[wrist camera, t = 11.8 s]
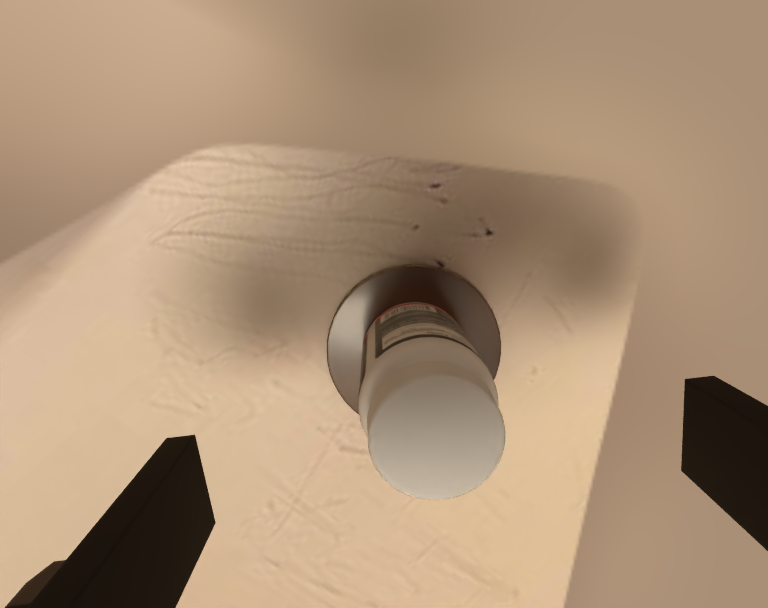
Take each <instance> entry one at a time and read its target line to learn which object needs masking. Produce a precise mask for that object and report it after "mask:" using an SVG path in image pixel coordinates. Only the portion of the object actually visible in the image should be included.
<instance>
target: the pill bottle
mask: <svg viewBox="0 0 768 608" xmlns="http://www.w3.org/2000/svg"><path fill="white" fill-rule="evenodd" d="M358 407H359V415H360V420H361V424H362V427H363V429H364V432H365V434H366V436H367V438H368V448H369V452H370V456H371V459H372V461H373V464H374V466H375V467H376V469H377V471H378V472H379V474H380V475H381V476H382V477H383V478H384V480H385V481H386V482H387V483H389V484H390V485H391V486H392V487H394V488H395V489H397V490H398V491H400V492H402V493H404V494H406V495H409V496H411V497H415V498H419V499H426V500H445V499H450V498H454V497H458V496H461V495H464V494H466V493H468V492H470V491H472V490H473V489H475V488H477V487H478V486H479V485H481V484H482V483H483V482H484V481H485V480H486V479H487V478H488V477H489V476H490V475H491V474H492V472H493V471H494V470H495V468H496V467H497V465H498V463H499V461H500V459H501V456H502V453H503V450H504V445H505V426H504V421H503V417H502V415H501V412H500V410H499V408H498V394H497V389H496V386H495V383H494V380H493V378H492V376H491V373H490V372H489V370H488V367H487V366H486V365H485V363H484V362H483V360H482V359H481V358H480V356H479V354H478V353H477V352H476V350H475V349H474V347H473V346H472V344H471V343H470V341H469V340H468V338H467V337H466V335H465V334H464V332H463V330H462V329H461V327H460V326H459V325H458V323H457V322H456V321H455V320H454V319H453V318H452V317H451V316H450V315H449V314H448V313H447V312H445V311H444V310H442V309H440V308H438V307H436V306H434V305H431V304H427V303H421V302H410V303H404V304H400V305H397V306H394V307H392V308H390V309H388V310H386V311H385V312H384V313H382V314H381V315H380V316H379V317H378V318H377V319H376V320H375V321H374V322H373V323H372V325H371V326H370V328H369V329H368V331H367V334H366V336H365V339H364V343H363V348H362V361H361V374H360V387H359V399H358Z"/></svg>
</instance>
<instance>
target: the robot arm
mask: <svg viewBox="0 0 768 608" xmlns="http://www.w3.org/2000/svg"><path fill="white" fill-rule="evenodd" d="M683 417H684V418H683V441H682V466H681V471H682V472H683V473H684V474H685V475H687V476H688V477H689V478H690V479H691V480H692V481H693V482H694V483H695V484H696V485H697V486H698V487H700V488H701V489H702V490H703V491H704V492H705V493H706V494H707V495H708V496H709V497H710V498H711V499H712V500H713V501H714V502H716V503H717V504H718V505H719V506H720V507H721V508H722V509H723V510H724V511H725V512H726V513H728V515H730V516H731V517H732V518H733V519H734V520H735V521H736V522H737V523H738V524H739V525H740V526H742V528H744V529H745V530H746V531H747V532H748V533H749V534H750V535H751V536H752V537H753V538H754V539H755V540H756V541H758V542H759V543H760V544H761V545H762V546H763V547H764V548H765V549H766V550H767V551H768V406H767V405H765V404H763V403H761V402H760V401H758V400H756V399H754V398H752V397H751V396H749V395H747V394H745V393H743V392H742V391H740V390H738V389H736V388H735V387H733V386H731V385H729V384H728V383H726V382H724V381H722V380H720V379H719V378H717V377H715V376H708V377H699V378H691V379H685V391H684V416H683ZM214 525H215V519H214V515H213V510H212V506H211V502H210V497H209V493H208V489H207V485H206V480H205V476H204V472H203V467H202V463H201V459H200V455H199V450H198V446H197V442H196V437H195V435H190V436H181V437H173V438H166V440H165V441H164V442H163V443H162V444H161V446H160V447H159V448H158V449H157V450H156V452H155V453H154V454H153V455H152V457H151V458H150V459H149V460H148V461H147V463H146V464H145V465H144V466H143V467H142V469H141V470H140V471H139V472H138V474H137V475H136V476H135V477H134V478H133V480H132V481H131V482H130V483H129V484H128V486H127V487H126V488H125V489H124V491H123V492H122V493H121V494H120V495H119V497H118V498H117V499H116V500H115V501H114V503H113V504H112V505H111V506H110V507H109V509H108V510H107V511H106V512H105V514H104V515H103V516H102V517H101V518H100V520H99V521H98V522H97V523H96V524H95V526H94V527H93V528H92V529H91V531H90V532H89V533H88V534H87V535H86V537H85V538H84V539H83V540H82V541H81V543H80V544H79V545H78V546H77V548H76V549H75V550H74V551H73V552H72V554H71V555H70V556H69V557H68V558H67V560H64V561H55V562H53V563H52V564H50V565H49V566H48V567H46V568H45V569H44V570H43V571H41V572H40V573H39V574H37V575H36V576H35V577H34V578H32V579H31V580H30V581H28V582H27V583H26V584H25V585H24V586H23V587H22V589H21V590H20V591H19V592H18V593H17V594H16V595H15V597H14V598H13V599H12V600H11V601H10V602H9V603H8V604H7V606H6V607H5V608H175V607H176V605H177V603H178V601H179V599H180V597H181V595H182V593H183V590H184V588H185V586H186V584H187V582H188V580H189V578H190V576H191V574H192V571H193V569H194V567H195V565H196V563H197V561H198V559H199V557H200V555H201V552H202V550H203V548H204V546H205V544H206V542H207V540H208V538H209V535H210V533H211V531H212V529H213V527H214Z"/></svg>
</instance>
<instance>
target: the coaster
mask: <svg viewBox="0 0 768 608" xmlns="http://www.w3.org/2000/svg"><path fill="white" fill-rule="evenodd" d="M410 302H421V303H427V304H431V305H434V306H436V307H438V308H440V309H442V310H444V311H445V312H447V313H448V314H449V315H450V316H451V317H452V318H453V319H454V320H455V321H456V322H457V323H458V325H459V326H460V327H461V329H462V330H463V332H464V334H465V335H466V337H467V338H468V340H469V341H470V343H471V344H472V346H473V347H474V349H475V350H476V352H477V353H478V354H479V356H480V358H481V359H482V360H483V362H484V363H485V365H486V366H487V367H488V370H489V372H490V373H491V376H492V378H493V380H494V378H495V376H496V373H497V370H498V366H499V362H500V355H501V340H500V332H499V328H498V325H497V321H496V319H495V316H494V314H493V312H492V310H491V308H490V307H489V305H488V303H487V302H486V300H485V299H484V298H483V297H482V295H481V294H480V293H479V292H478V291H477V290H476V289H475V288H474V287H473V286H471V285H470V284H469V283H468V282H466V281H465V280H464V279H462V278H461V277H459V276H457V275H455V274H453V273H451V272H449V271H446V270H444V269H441V268H437V267H433V266H428V265H403V266H397V267H392V268H389V269H386V270H383V271H380V272H378V273H376V274H374V275H372V276H370V277H369V278H367V279H366V280H364V281H362V282H361V283H360V284H359V285H358V286H356V287H355V288H354V289H353V290H352V291H351V292H350V293H349V294H348V295H347V296H346V298H345V299H344V300H343V302H342V303H341V305H340V306H339V308H338V310H337V312H336V314H335V316H334V318H333V321H332V324H331V327H330V330H329V335H328V340H327V361H328V367H329V371H330V375H331V377H332V380H333V383H334V385H335V387H336V388H337V390H338V392H339V394H340V395H341V396H342V398H343V399H344V401H345V402H346V403H347V404H348V405H349V406H350V407H351V408H352V409H353V410H354V411H355V412H357V413H358V414H359V407H358V399H359V387H360V374H361V361H362V348H363V343H364V339H365V336H366V334H367V331H368V329H369V328H370V326H371V325H372V323H373V322H374V321H375V320H376V319H377V318H378V317H379V316H380V315H381V314H382V313H384V312H385V311H386V310H388V309H390V308H392V307H394V306H397V305H400V304H404V303H410Z"/></svg>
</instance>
